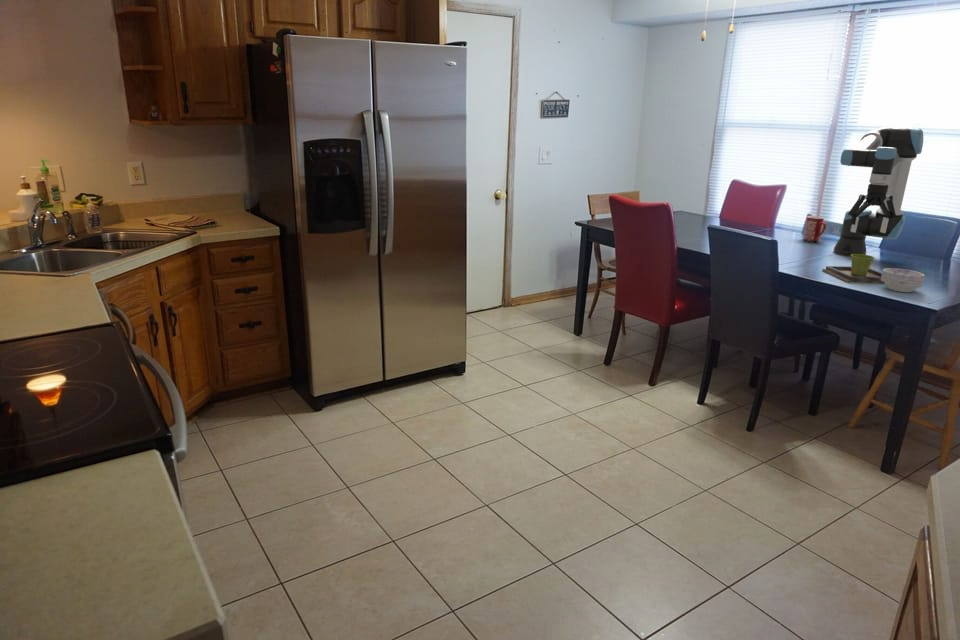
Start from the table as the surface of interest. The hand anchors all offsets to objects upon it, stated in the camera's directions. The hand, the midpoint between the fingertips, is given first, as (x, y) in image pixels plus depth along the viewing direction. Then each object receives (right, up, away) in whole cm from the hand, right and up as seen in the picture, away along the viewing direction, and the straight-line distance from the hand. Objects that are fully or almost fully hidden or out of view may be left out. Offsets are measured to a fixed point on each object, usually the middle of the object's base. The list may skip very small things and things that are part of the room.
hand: (867, 232), depth 283 cm
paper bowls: (+6, -26, -12) cm, 30 cm away
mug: (+19, +6, +83) cm, 86 cm away
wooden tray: (-1, -19, +7) cm, 21 cm away
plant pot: (0, -19, +7) cm, 20 cm away
